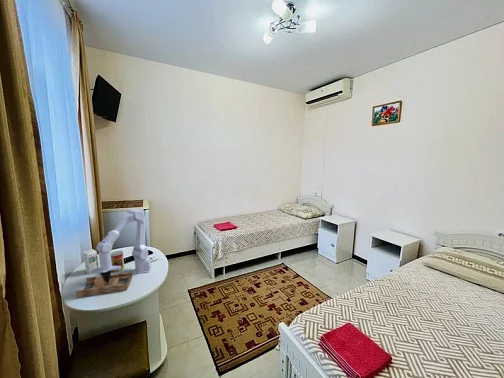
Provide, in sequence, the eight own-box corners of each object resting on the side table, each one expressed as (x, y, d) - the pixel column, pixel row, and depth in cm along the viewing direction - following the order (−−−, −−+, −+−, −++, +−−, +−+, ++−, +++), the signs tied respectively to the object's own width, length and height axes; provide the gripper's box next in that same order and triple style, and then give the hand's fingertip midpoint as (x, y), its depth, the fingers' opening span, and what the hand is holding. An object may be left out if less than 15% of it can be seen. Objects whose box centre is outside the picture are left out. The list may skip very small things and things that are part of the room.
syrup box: (89, 274, 145) (87, 254, 143) (85, 271, 148) (83, 251, 146) (99, 270, 150) (96, 250, 147) (95, 268, 153) (92, 248, 150)
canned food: (110, 269, 152) (108, 252, 150) (123, 265, 157) (121, 249, 155) (112, 273, 146) (110, 257, 144) (125, 269, 151) (124, 253, 149)
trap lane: (132, 277, 142) (131, 271, 141) (127, 290, 129) (126, 284, 128) (87, 283, 135) (86, 277, 134) (77, 297, 121) (76, 291, 121)
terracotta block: (106, 282, 133) (105, 275, 132) (103, 286, 129) (102, 279, 128) (97, 283, 132) (96, 276, 131) (94, 287, 128) (94, 280, 127)
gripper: (88, 266, 123) (91, 288, 125) (117, 262, 128) (119, 283, 130) (93, 260, 130) (95, 281, 132) (120, 257, 134) (122, 277, 136)
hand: (107, 282), depth 131 cm, fingers closed
